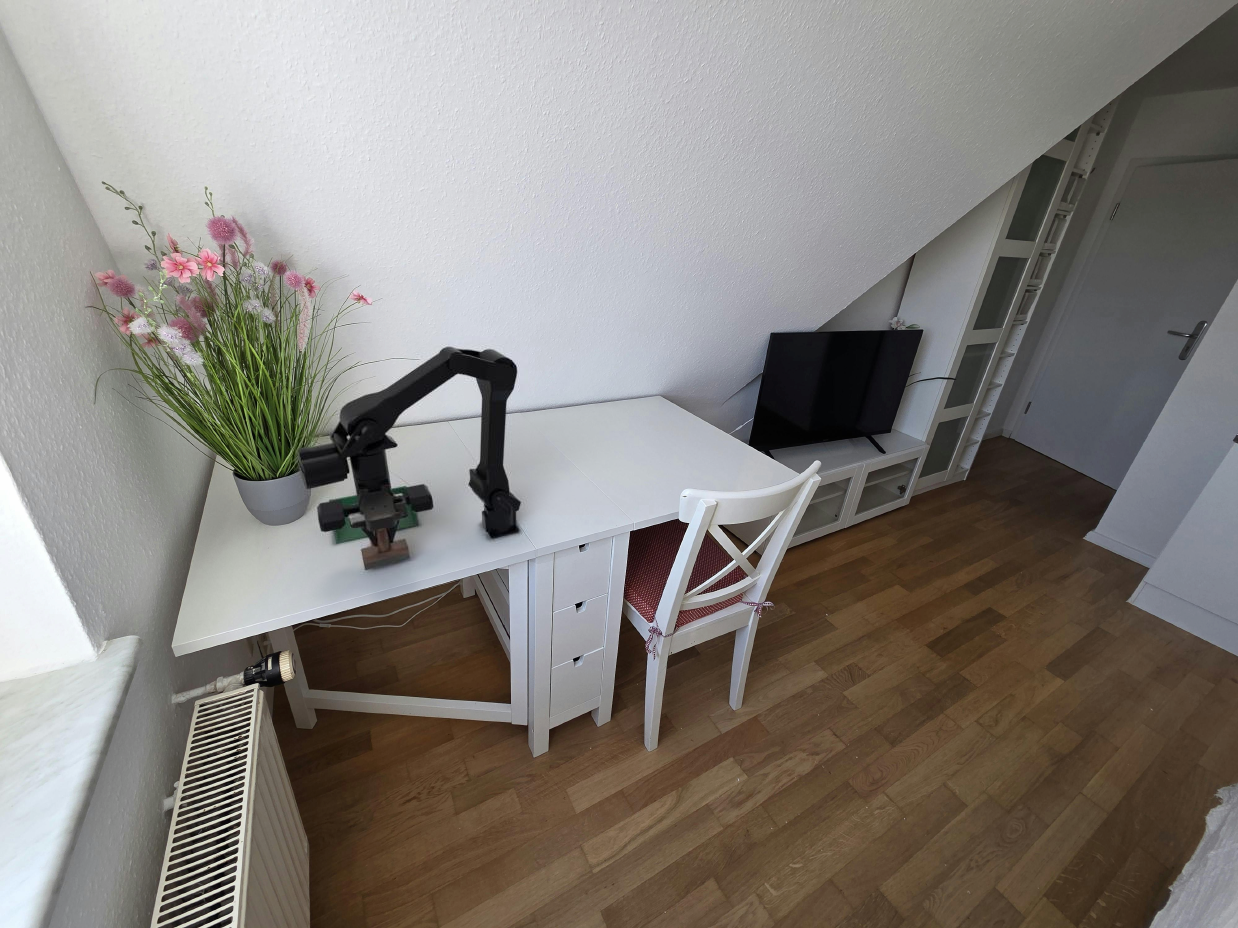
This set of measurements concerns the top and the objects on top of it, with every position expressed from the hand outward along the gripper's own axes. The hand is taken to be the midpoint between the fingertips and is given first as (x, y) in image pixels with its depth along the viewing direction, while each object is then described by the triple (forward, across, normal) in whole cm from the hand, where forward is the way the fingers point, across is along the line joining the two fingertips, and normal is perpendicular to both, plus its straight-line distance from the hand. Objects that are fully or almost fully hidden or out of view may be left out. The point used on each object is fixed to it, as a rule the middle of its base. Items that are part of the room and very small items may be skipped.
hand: (383, 543), depth 97 cm
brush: (+4, 0, 0) cm, 4 cm away
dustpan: (+6, 0, +22) cm, 23 cm away
